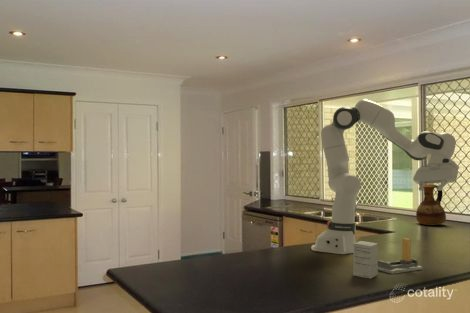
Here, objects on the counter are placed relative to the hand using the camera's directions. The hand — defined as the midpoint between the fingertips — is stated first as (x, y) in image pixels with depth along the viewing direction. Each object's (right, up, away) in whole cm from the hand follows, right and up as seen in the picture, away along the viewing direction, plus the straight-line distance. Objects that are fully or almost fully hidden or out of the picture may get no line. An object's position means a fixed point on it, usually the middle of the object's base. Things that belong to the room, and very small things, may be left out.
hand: (429, 190), depth 194 cm
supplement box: (-37, -32, -27) cm, 56 cm away
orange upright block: (-16, -31, -13) cm, 37 cm away
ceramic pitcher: (+56, -35, +122) cm, 138 cm away
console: (-20, -32, -15) cm, 41 cm away
